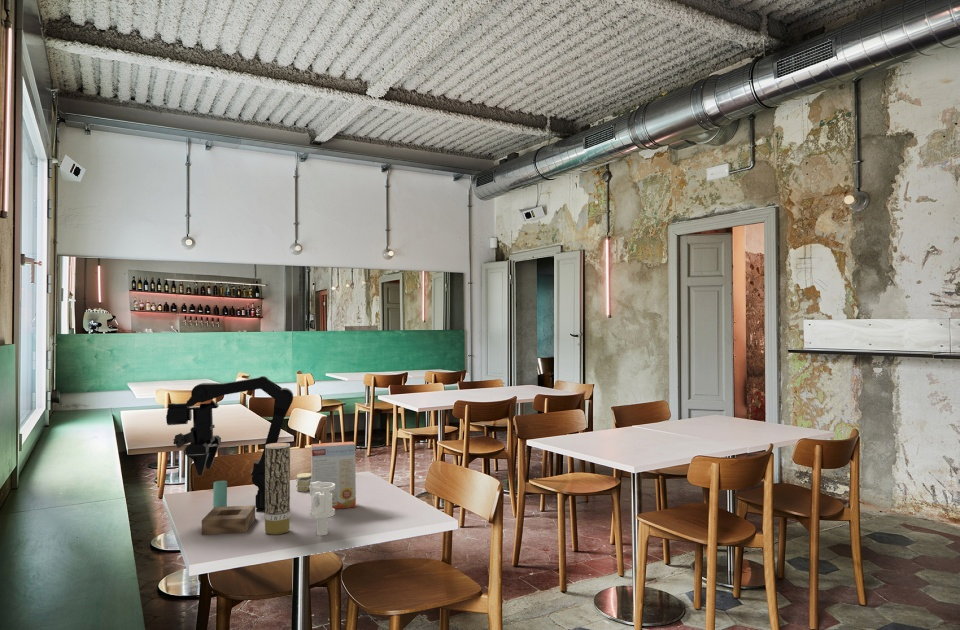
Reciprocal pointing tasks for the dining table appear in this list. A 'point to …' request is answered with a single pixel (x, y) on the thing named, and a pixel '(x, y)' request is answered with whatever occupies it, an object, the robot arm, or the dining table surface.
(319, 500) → the white plastic upright piece
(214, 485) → the peg
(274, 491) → the paper tube
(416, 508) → the dining table surface
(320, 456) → the cracker box
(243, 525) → the socket block
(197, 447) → the robot arm
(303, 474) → the stacked layers on plate
